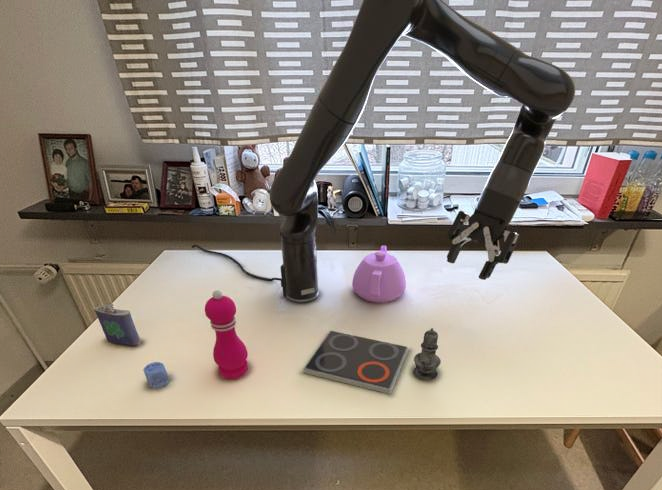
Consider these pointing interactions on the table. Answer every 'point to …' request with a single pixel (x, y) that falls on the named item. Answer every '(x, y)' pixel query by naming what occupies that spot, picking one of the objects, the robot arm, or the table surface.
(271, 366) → the table surface
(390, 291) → the teapot
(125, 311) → the flask
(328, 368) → the hob
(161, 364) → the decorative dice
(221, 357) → the pepper mill
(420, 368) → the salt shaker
